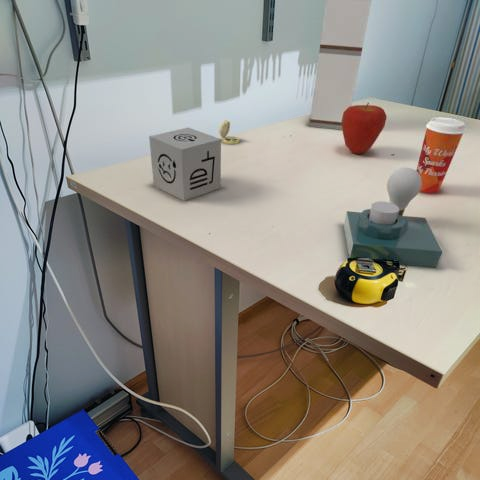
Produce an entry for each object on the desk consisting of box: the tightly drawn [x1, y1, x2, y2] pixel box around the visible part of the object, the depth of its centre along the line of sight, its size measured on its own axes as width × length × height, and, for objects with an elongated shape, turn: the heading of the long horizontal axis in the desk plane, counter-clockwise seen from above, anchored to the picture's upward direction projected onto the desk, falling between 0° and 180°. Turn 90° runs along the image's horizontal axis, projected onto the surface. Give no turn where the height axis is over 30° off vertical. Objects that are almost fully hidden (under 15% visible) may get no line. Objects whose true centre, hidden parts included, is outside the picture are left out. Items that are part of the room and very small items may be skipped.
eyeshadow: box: [218, 120, 240, 145], centre depth 113 cm, size 4×5×5 cm
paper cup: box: [415, 116, 467, 195], centre depth 90 cm, size 8×8×14 cm
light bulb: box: [386, 166, 422, 216], centre depth 78 cm, size 6×6×10 cm
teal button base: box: [343, 208, 443, 268], centre depth 72 cm, size 14×12×5 cm
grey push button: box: [369, 200, 399, 225], centre depth 70 cm, size 4×4×2 cm
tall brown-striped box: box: [308, 0, 373, 131], centre depth 121 cm, size 11×11×35 cm
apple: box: [342, 102, 387, 155], centre depth 108 cm, size 11×11×12 cm
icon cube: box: [148, 127, 222, 202], centre depth 86 cm, size 10×10×10 cm
